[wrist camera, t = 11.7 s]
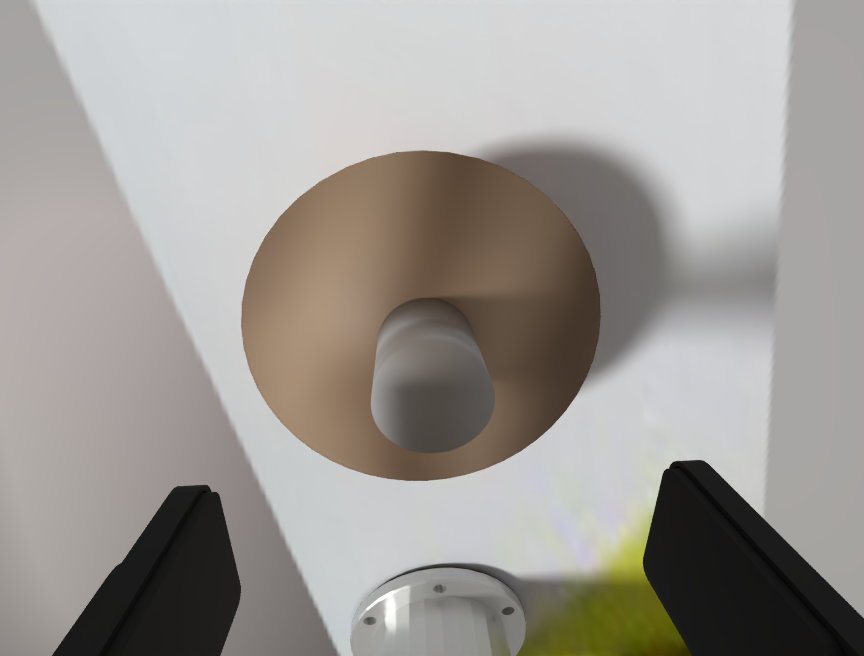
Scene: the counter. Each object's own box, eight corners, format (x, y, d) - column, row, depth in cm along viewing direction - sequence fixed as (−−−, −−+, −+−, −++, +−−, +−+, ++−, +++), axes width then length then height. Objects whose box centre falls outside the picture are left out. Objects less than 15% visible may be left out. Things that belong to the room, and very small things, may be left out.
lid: (615, 150, 15) (714, 154, 10) (567, 457, 20) (617, 553, 15) (218, 150, 14) (128, 155, 9) (276, 471, 19) (238, 576, 14)
